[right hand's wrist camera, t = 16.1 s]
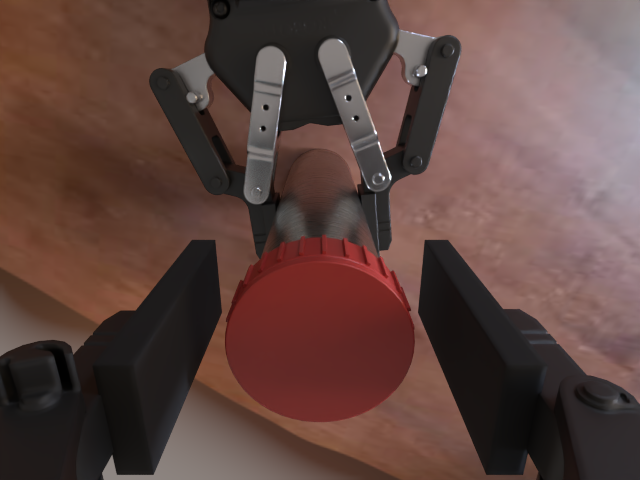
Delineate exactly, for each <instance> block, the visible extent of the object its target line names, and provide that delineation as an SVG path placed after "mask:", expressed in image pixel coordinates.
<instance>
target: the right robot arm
mask: <svg viewBox="0 0 640 480" xmlns="http://www.w3.org/2000/svg"><path fill="white" fill-rule="evenodd" d="M221 313H222V309H221V298H220V287H219V276H218V266H217V255H216V244H215V240H192V241H191V242H190V243H189V245H188V246H187V247H186V248H185V250H184V251H183V252H182V253H181V255H180V256H179V257H178V258H177V260H176V261H175V262H174V263H173V265H172V266H171V267H170V268H169V270H168V271H167V272H166V273H165V275H164V276H163V277H162V278H161V280H160V281H159V282H158V283H157V285H156V286H155V287H154V288H153V290H152V291H151V292H150V293H149V295H148V296H147V297H146V298H145V300H144V301H143V302H142V303H141V305H140V306H139V307H138V308H137V310H136V311H119V312H118V313H116V314H114V315H113V316H111V317H109V318H108V319H106V320H104V321H103V322H102V323H101V325H100V326H99V327H98V328H97V329H96V330H95V331H94V332H93V335H91V336H90V337H89V338H88V339H87V340H86V341H85V342H84V346H81V347H80V348H79V349H78V350H77V351H76V352H75V354H74V355H73V352H72V348H71V346H70V345H68V344H67V343H66V342H63V341H57V340H47V341H38V342H34V343H30V344H26V345H22V346H20V347H18V348H15V349H13V350H11V351H8V352H6V353H5V354H3V355H2V356H0V480H103V475H102V472H103V470H104V468H105V466H106V465H107V463H108V461H109V459H110V457H111V456H112V455H113V459H114V464H115V468H116V473H117V475H153V474H154V472H155V470H156V468H157V465H158V463H159V461H160V458H161V456H162V453H163V451H164V449H165V446H166V444H167V442H168V439H169V437H170V434H171V432H172V430H173V427H174V425H175V423H176V420H177V418H178V415H179V413H180V411H181V408H182V406H183V403H184V401H185V399H186V396H187V394H188V392H189V389H190V387H191V385H192V382H193V380H194V377H195V375H196V373H197V370H198V368H199V366H200V363H201V361H202V358H203V356H204V354H205V351H206V349H207V347H208V344H209V342H210V339H211V337H212V335H213V332H214V330H215V328H216V325H217V323H218V321H219V318H220V316H221ZM418 313H419V316H420V318H421V321H422V323H423V325H424V328H425V330H426V332H427V335H428V337H429V339H430V342H431V344H432V347H433V349H434V351H435V354H436V356H437V358H438V361H439V363H440V366H441V368H442V370H443V373H444V375H445V377H446V380H447V382H448V385H449V387H450V389H451V392H452V394H453V396H454V399H455V401H456V404H457V406H458V408H459V411H460V413H461V415H462V418H463V420H464V423H465V425H466V427H467V430H468V432H469V434H470V437H471V439H472V442H473V444H474V446H475V449H476V451H477V453H478V456H479V458H480V461H481V463H482V465H483V468H484V470H485V472H486V475H523V473H524V468H525V464H526V459H527V455H528V453H529V455H530V457H531V459H532V461H533V462H534V464H535V466H536V468H537V470H538V475H537V479H536V480H640V404H639V403H638V402H637V400H636V399H635V398H634V396H632V395H631V394H630V393H628V392H627V391H626V390H624V389H623V388H622V387H620V386H617V385H615V384H613V383H611V382H609V381H607V380H604V379H601V378H597V377H594V376H588V375H586V374H585V373H584V372H583V370H582V369H581V368H580V367H579V366H578V365H577V364H576V363H575V362H574V360H573V359H572V358H571V357H570V356H569V355H568V354H567V353H566V352H565V351H564V349H563V348H562V347H561V346H560V345H559V344H557V343H556V341H555V339H554V338H553V337H552V336H551V335H550V334H548V333H547V331H546V329H545V328H544V327H543V326H542V325H541V324H540V323H539V322H538V321H537V320H536V319H535V318H533V317H531V316H530V315H528V314H527V313H525V312H523V311H522V310H520V309H503V308H502V307H501V306H500V305H499V303H498V302H497V301H496V300H495V298H494V297H493V296H492V295H491V293H490V292H489V291H488V290H487V288H486V287H485V286H484V285H483V283H482V282H481V281H480V280H479V278H478V277H477V276H476V275H475V273H474V272H473V271H472V270H471V268H470V267H469V266H468V265H467V263H466V262H465V261H464V260H463V258H462V257H461V256H460V255H459V253H458V252H457V251H456V250H455V248H454V247H453V246H452V245H451V243H450V242H449V241H448V240H425V244H424V255H423V266H422V276H421V287H420V298H419V309H418Z"/></svg>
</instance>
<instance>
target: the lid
mask: <svg viewBox="0 0 640 480" xmlns="http://www.w3.org/2000/svg"><path fill="white" fill-rule="evenodd" d="M231 303H232V306H231V308H230V311H229V313H228V316H227V318H226V322H228V323H227V328H226V333H225V348H226V355H227V359H228V363H229V366H230V368H231V370H232V373H233V375H234V376H235V378H236V380H237V381H238V383H239V384H240V385H241V387H242V388H243V389H244V390H245V392H247V393H248V394H249V395H250V396H251V397H252V398H253V399H254V400H255V401H257V402H258V403H259V404H261V405H262V406H264V407H266V408H267V409H269V410H271V411H273V412H275V413H277V414H280V415H282V416H285V417H288V418H292V419H296V420H301V421H309V422H331V421H339V420H343V419H348V418H351V417H354V416H357V415H360V414H362V413H365V412H367V411H369V410H371V409H372V408H374V407H376V406H377V405H379V404H380V403H382V402H383V401H384V400H386V399H387V398H388V397H389V396H390V395H391V394H392V393H393V392H394V391H395V390H396V389H397V387H398V386H399V385H400V384H401V382H402V381H403V379H404V377H405V376H406V374H407V372H408V369H409V367H410V365H411V362H412V358H413V353H414V344H415V339H414V324H413V322H412V319H411V316H410V314H409V311H411V309H410V306H409V303H408V301H407V298H406V296H405V293H404V291H403V288H402V287H400V285H399V282H398V279H397V277H396V274H395V272H394V271H391V272H390V270H389V269H388V268H387V267H386V265H385V264H384V261H383V258H382V257H381V256H380V257H379V258H377V257H376V256H375V255H373V254H372V253H371V252H369V251H368V250H367V247H366V246H364V245H363V246H362V247H360V246H358V245H356V244H353V243H350V242H348V241H347V238H343V240H339V239H334V238H326V235H322V237H317V238H306V239H305V236H301V239H300V240H296V241H292V242H289V243H287V244H285V242H282V243H281V244H280V246H279V247H278V248H276V249H274V250H272V251H270V252H269V253H267V252H266V251H265V252H264V253H263V255H262V258H261V259H260V260H259V261H258V262H257V263H256V264H255V265H254V266H253V265H250V266H249V268H248V271H247V274H246V276H245V279H244V281H242V280H240V282H239V285H238V287H237V290H236V292H235V295H234V297H233V300H232V302H231Z"/></svg>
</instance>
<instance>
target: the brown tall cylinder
mask: <svg viewBox="0 0 640 480" xmlns="http://www.w3.org/2000/svg"><path fill="white" fill-rule="evenodd" d="M322 235H326V238H334V239H339V240H343V238H347V241H348V242H350V243H353V244H356V245H358V246H360V247H362V246H363V245H364V246H366V247H367V250H368V251H369V252H371V253H372V254H373V255H375V256H376V257H377V258H379V257H378V254H377V251H376V248H375V245H374V242H373V239H372V236H371V233H370V230H369V227H368V224H367V220H366V217H365V214H364V211H363V208H362V205H361V202H360V199H359V196H358V193H357V190H356V187H355V184H354V181H353V178H352V175H351V172H350V169H349V167H348V165H347V163H346V162H345V160H344V159H343V158H342V157H341V156H339V155H338V154H336V153H335V152H332V151H330V150H325V149H314V150H310V151H308V152H306V153H304V154H302V155H301V156H299V157H298V158H297V159H296V161H295V162H294V163H293V165H292V167H291V169H290V172H289V175H288V178H287V181H286V184H285V187H284V190H283V193H282V196H281V199H280V202H279V205H278V208H277V211H276V214H275V217H274V220H273V223H272V226H271V229H270V232H269V235H268V238H267V241H266V244H265V247H264V250H263V253H264V252H265V251H266V252H267V253H269V252H270V251H272V250H274V249H276V248H278V247H279V246H280V244H281V243H282V242H285V244H287V243H289V242H292V241H296V240H300V239H301V236H305V239H306V238H317V237H322ZM263 253H262V255H263ZM261 258H262V256H261Z"/></svg>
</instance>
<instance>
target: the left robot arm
mask: <svg viewBox="0 0 640 480" xmlns="http://www.w3.org/2000/svg"><path fill="white" fill-rule="evenodd" d="M207 2H208V7H209V14H210V25H209V31H208V35H207V38H206V41H205V47H204V52H205V53H203V54H201V55H199V56H197V57H195V58H193V59H191V60H189V61H187V62H185V63H183V64H181V65H179V66H177V67H175V68H173V69H165V68H159V69H156V70H155V71H153V72H152V74H151V76H150V79H149V83H150V87H151V89H152V91H153V93H154V95H155V97H156V98H157V100H158V102H159V104H160V106H161V108H162V109H163V111H164V113H165V115H166V117H167V119H168V120H169V122H170V124H171V126H172V128H173V130H174V131H175V133H176V135H177V137H178V139H179V141H180V142H181V144H182V146H183V148H184V150H185V152H186V153H187V155H188V157H189V159H190V161H191V163H192V164H193V166H194V168H195V170H196V172H197V174H198V175H199V177H200V179H201V181H202V183H203V185H204V186H205V188H206V190H207V191H208V192H210V193H211V194H214V195H221V194H228V195H232V196H236V197H239V198H241V199H242V200H243V201H244V202H245V203H246V204H247V206H248V209H249V214H250V220H251V226H252V231H253V237H254V242H255V249H256V254H257V255H258V257H259V259H261V256H262V253H263V250H264V247H265V244H266V241H267V238H268V235H269V232H270V229H271V226H272V223H273V220H274V217H275V214H276V211H277V208H278V205H279V202H280V195H279V193H275V191H274V180H275V173H276V166H277V159H278V152H279V147H280V142H281V135H282V131H286V130H294V129H296V128H299V127H301V126H304V125H306V124H309V123H314V124H320V125H326V126H331V125H340V124H343V127H344V129H345V132H346V135H347V137H348V140H349V142H350V145H351V147H352V150H353V153H354V155H355V158H356V160H357V163H358V166H359V168H360V171H361V184H358V185H357V186H358V196H359V199H360V202H361V205H362V208H363V211H364V214H365V217H366V220H367V224H368V227H369V230H370V233H371V236H372V239H373V242H374V245H375V248H376V251H377V254H378V257H380V255H379V251H381V250H388V249H389V246H390V243H391V241H392V237H391V219H390V200H389V192H390V189H391V187H392V185H393V184H394V183H395V182H396V181H398V180H399V179H401V178H403V177H406V176H408V175H410V174H413V175H417V174H420V173H422V172H424V171H425V170H426V169H427V167H428V165H429V161H430V158H431V154H432V151H433V147H434V144H435V141H436V137H437V134H438V130H439V127H440V123H441V120H442V116H443V113H444V110H445V106H446V103H447V99H448V96H449V92H450V89H451V86H452V82H453V79H454V75H455V72H456V68H457V65H458V62H459V58H460V55H461V44H460V42H459V40H458V39H457V38H456V37H454V36H451V35H446V36H441V37H437V38H434V37H430V36H425V35H421V34H416V33H412V32H408V31H403V30H399V25H398V22H397V20H396V18H395V16H394V15H393V13H392V11H391V9H390V7H389V4H388V1H387V0H207ZM393 54H394V55H396V56H397V57H398V58H399V59H400V61H401V64H402V71H401V75H402V78H403V80H404V82H405V83H407V84H408V85H412V87H411V91H410V94H409V98H408V102H407V106H406V110H405V114H404V117H403V121H402V125H401V129H400V133H399V137H398V140H397V144H396V147H395V148H393V149H391V150H389V151H386V152H384V153H383V152H382V149H381V147H380V144H379V141H378V136H377V133H376V130H375V127H374V125H373V122H372V119H371V116H370V113H369V111H368V108H367V105H366V100H367V98H368V96H369V95H370V93H371V91H372V90H373V88H374V86H375V84H376V83H377V81H378V79H379V78H380V76H381V74H382V72H383V71H384V69H385V67H386V65H387V64H388V62H389V60H390V59H391V57H392V55H393ZM215 76H217V77H218V78H219V79H220V80H221V81H222V82H223V83H224V84H225V85H226V86H227V88H228V89H229V90H230V91H231V92H232V93H233V94H234V95H235V96H236V97H237V98H238V99H239V101H240V102H241V103H242V104H243V105H244V106H245V107H246V108H247V109H248V110H249V111H250V112H251V118H250V126H249V135H248V143H247V154H248V156H247V165H246V167H243V166H239V165H236V164H235V162H234V160H233V158H232V156H231V154H230V152H229V151H228V149H227V147H226V145H225V143H224V141H223V139H222V137H221V135H220V133H219V131H218V129H217V127H216V125H215V123H214V121H213V119H212V117H211V115H210V113H209V111H208V109H207V108H209V107H210V106H211V105H212V103H213V100H214V95H213V91H212V87H211V84H212V80H213V78H214V77H215Z"/></svg>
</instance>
